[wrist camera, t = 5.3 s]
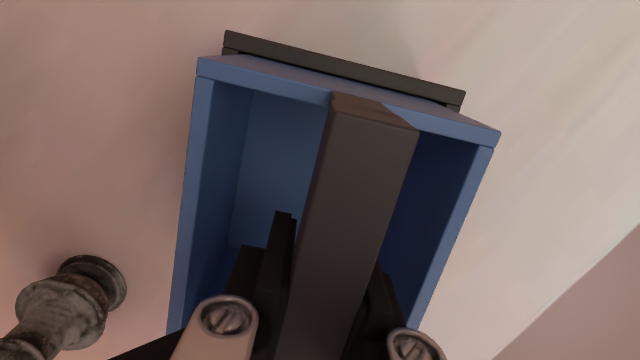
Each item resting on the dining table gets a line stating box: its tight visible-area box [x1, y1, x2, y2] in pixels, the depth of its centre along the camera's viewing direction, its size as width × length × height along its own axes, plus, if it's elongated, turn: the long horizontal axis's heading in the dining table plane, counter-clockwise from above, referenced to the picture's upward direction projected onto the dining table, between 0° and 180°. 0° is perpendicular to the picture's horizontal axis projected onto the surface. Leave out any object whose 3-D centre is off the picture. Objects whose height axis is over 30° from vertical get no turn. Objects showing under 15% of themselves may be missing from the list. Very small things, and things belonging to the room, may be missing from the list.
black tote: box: [221, 30, 466, 113], centre depth 21 cm, size 13×11×7 cm
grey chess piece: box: [0, 255, 126, 360], centre depth 22 cm, size 6×6×12 cm
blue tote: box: [166, 54, 501, 360], centre depth 13 cm, size 11×9×12 cm
